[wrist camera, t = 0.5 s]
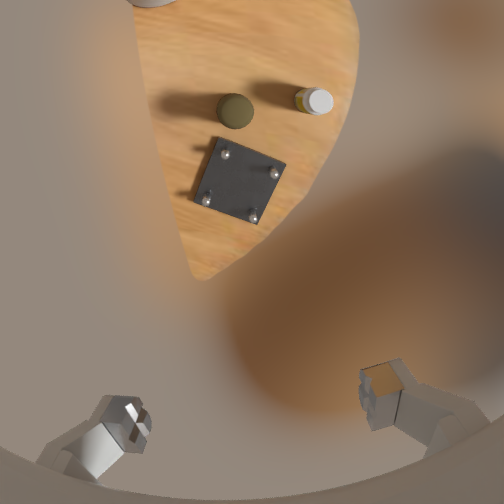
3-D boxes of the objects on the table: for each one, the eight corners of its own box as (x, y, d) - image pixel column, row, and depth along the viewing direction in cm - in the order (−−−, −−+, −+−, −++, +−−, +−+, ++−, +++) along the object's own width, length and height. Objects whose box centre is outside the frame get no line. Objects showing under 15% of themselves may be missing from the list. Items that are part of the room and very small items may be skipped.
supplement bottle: (312, 117, 47) (327, 121, 40) (289, 105, 45) (301, 107, 38) (323, 96, 45) (340, 96, 37) (301, 83, 43) (314, 81, 36)
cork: (215, 125, 46) (212, 132, 37) (217, 92, 43) (215, 90, 34) (250, 127, 47) (256, 134, 38) (252, 94, 44) (259, 93, 35)
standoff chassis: (219, 136, 47) (218, 140, 43) (285, 163, 51) (290, 169, 47) (193, 199, 53) (191, 209, 49) (256, 222, 57) (259, 232, 53)
